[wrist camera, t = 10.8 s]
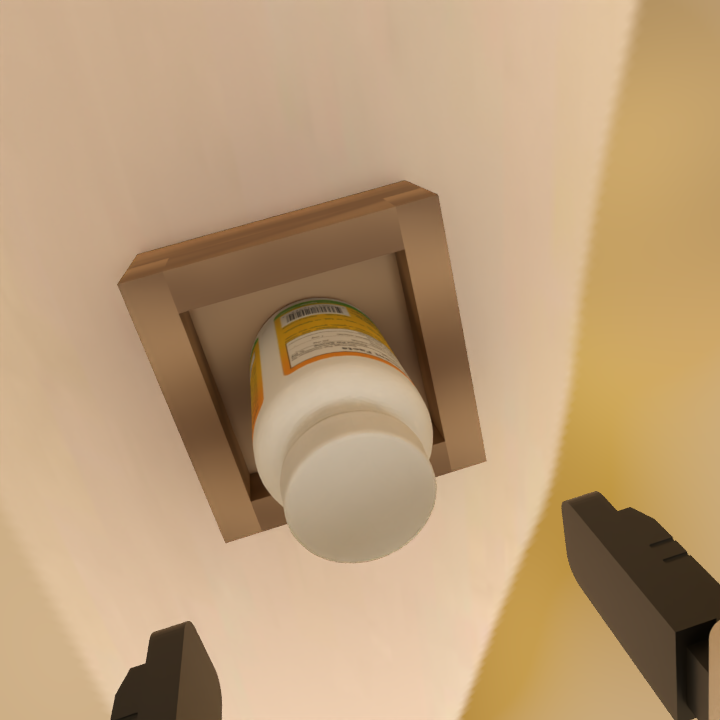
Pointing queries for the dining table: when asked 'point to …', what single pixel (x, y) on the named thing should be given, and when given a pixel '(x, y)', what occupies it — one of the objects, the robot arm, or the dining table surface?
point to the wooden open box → (281, 288)
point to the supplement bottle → (339, 432)
